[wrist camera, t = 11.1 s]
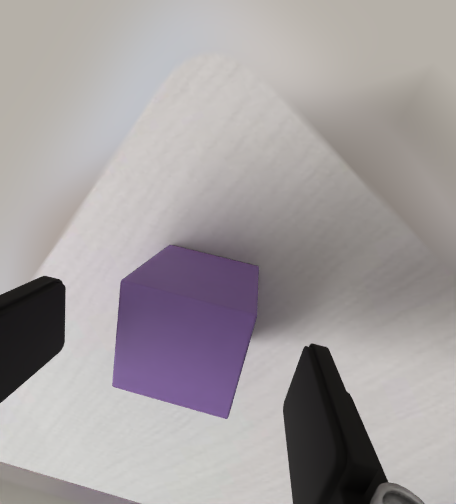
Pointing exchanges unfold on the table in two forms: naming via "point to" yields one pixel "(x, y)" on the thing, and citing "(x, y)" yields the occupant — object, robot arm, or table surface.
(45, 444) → the table surface
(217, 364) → the purple foam cube
